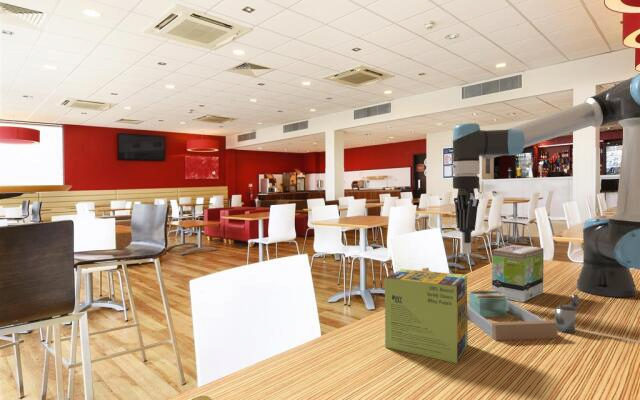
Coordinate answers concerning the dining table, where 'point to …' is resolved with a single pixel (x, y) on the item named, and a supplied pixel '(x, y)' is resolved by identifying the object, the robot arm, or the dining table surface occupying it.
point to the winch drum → (566, 316)
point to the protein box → (426, 313)
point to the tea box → (518, 272)
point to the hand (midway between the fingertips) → (465, 253)
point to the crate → (488, 303)
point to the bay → (515, 325)
